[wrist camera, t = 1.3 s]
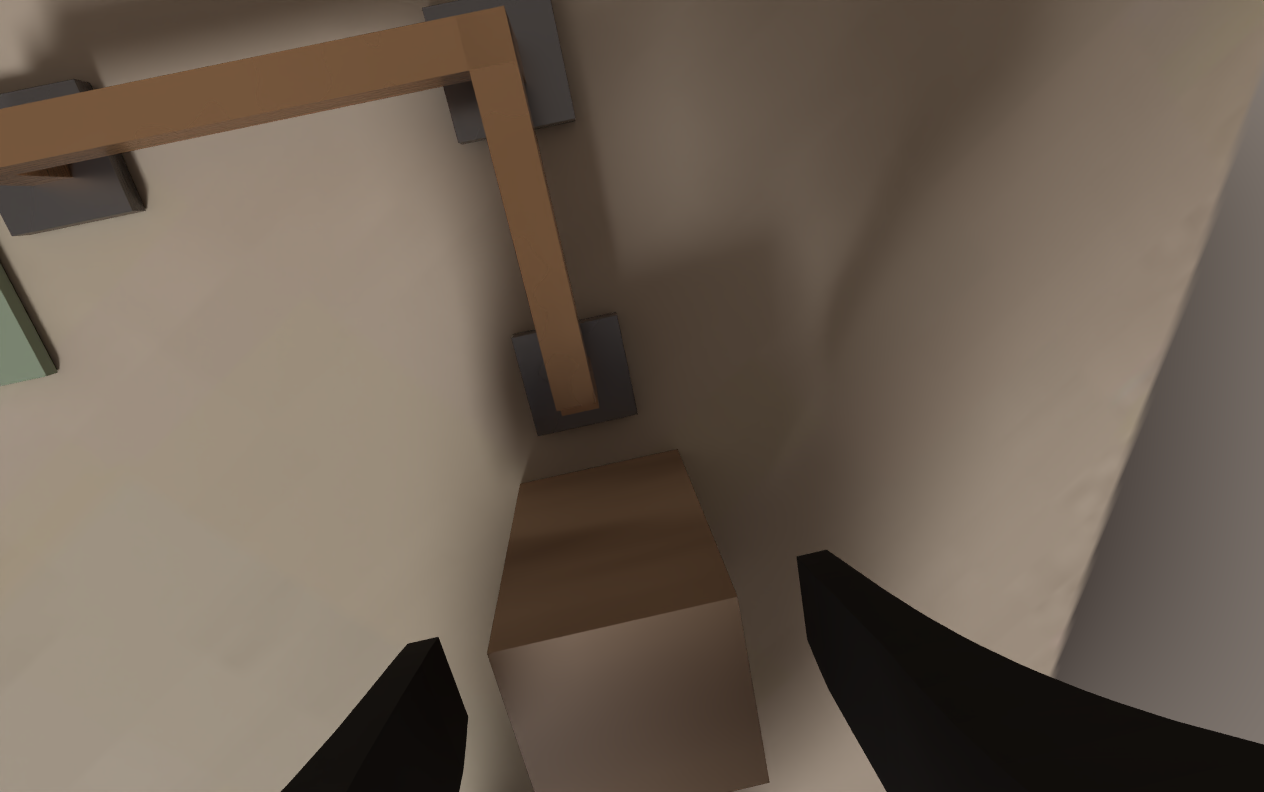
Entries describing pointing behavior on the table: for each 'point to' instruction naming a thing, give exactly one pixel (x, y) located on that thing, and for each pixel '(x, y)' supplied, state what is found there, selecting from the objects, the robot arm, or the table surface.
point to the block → (623, 637)
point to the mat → (19, 340)
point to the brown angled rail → (333, 78)
